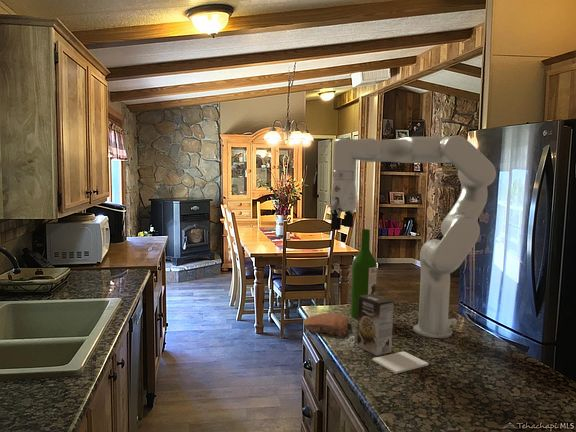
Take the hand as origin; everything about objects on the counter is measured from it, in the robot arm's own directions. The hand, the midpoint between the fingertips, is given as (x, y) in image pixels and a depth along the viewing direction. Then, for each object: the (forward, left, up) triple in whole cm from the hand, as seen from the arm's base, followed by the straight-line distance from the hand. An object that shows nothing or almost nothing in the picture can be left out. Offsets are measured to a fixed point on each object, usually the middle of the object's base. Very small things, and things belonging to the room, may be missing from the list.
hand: (342, 228), depth 161 cm
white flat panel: (0, +30, -35) cm, 46 cm away
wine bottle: (-18, -9, -35) cm, 40 cm away
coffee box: (0, +19, -35) cm, 40 cm away
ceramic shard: (+2, -4, -36) cm, 36 cm away
